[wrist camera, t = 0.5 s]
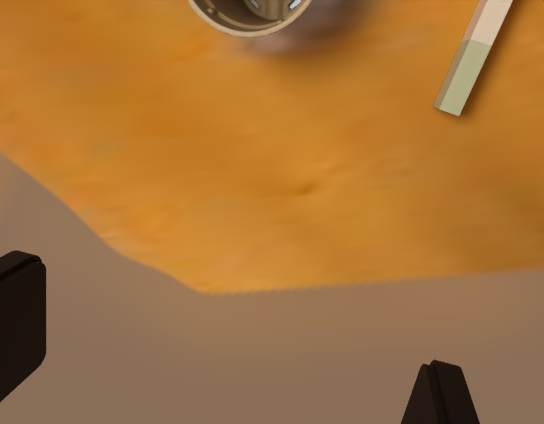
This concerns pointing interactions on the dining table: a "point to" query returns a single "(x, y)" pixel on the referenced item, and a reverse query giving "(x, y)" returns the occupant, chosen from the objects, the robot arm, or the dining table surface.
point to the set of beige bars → (471, 55)
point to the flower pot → (248, 15)
